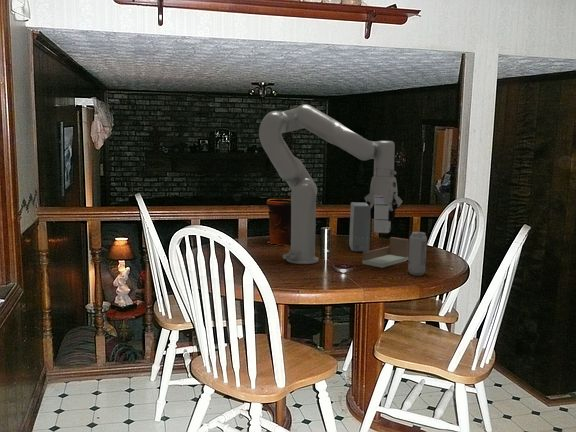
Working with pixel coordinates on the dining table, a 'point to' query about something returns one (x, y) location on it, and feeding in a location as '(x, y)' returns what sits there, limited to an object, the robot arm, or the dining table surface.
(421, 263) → the energy drink can
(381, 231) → the syrup box
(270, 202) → the vessel
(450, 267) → the dining table surface
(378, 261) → the shelf
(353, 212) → the hard drive box
